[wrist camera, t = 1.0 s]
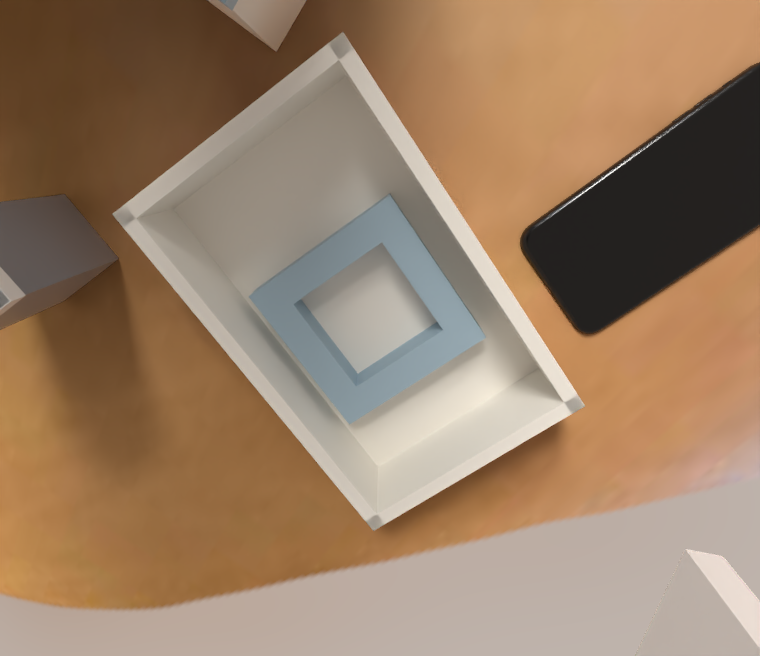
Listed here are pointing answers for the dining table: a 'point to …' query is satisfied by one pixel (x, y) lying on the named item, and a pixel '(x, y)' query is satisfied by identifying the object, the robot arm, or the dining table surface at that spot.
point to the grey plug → (45, 255)
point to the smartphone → (655, 210)
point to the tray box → (351, 289)
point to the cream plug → (263, 17)
